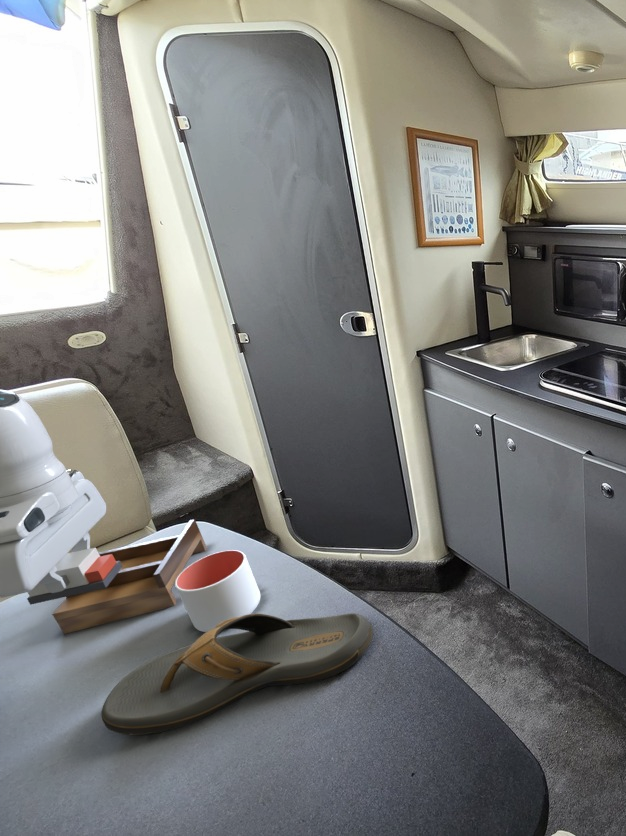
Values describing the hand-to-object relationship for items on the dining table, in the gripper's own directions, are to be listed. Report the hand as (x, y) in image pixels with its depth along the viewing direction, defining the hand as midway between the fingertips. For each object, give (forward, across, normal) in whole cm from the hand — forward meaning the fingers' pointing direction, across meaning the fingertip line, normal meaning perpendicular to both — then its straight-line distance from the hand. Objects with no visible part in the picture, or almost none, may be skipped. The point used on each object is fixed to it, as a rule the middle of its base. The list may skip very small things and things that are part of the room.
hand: (72, 575), depth 75 cm
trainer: (+2, 0, 0) cm, 2 cm away
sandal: (+17, +14, +23) cm, 32 cm away
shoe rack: (+17, -17, -3) cm, 24 cm away
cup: (+17, -3, +15) cm, 23 cm away
